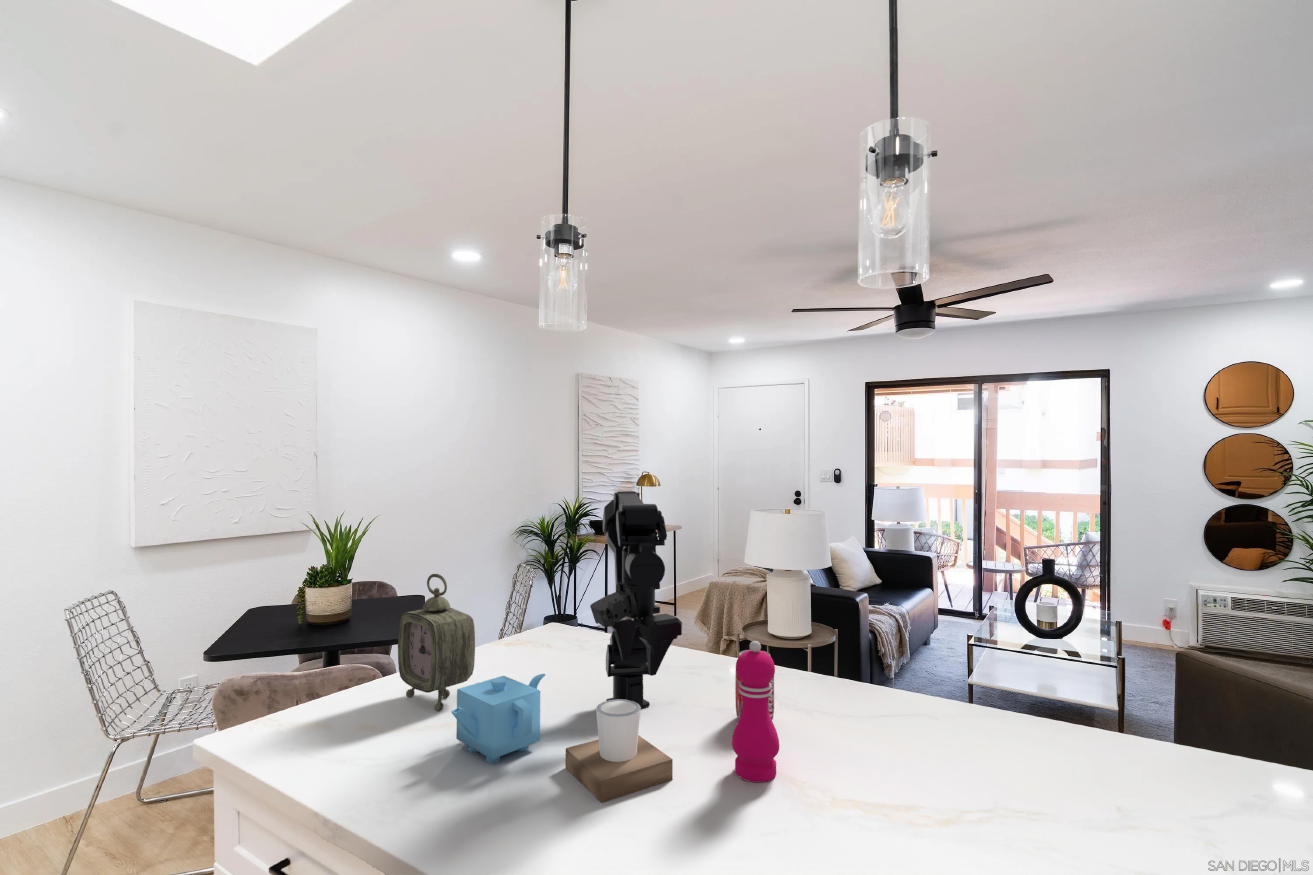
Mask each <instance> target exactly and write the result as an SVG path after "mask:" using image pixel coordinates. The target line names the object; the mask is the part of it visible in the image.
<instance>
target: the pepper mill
mask: <svg viewBox="0 0 1313 875" xmlns="http://www.w3.org/2000/svg"><path fill="white" fill-rule="evenodd" d="M748 646H749V649H748V650H749V651H746V652H744V653H742V654H741V655H740V656H739V655H738V657H737V660H736V662H735V674H736V673H737V676H738V677H739V678H740V680H741V681H740V682H739V686H740V688H739V692H740V693H741V694H742V711H741V716H740V718H738V721H737V722H736V726H735V727H734V728H733V731H732V732H733V733H732V737H731V748H732V750H733V752H734V753H735V754H736V757H735V758H734V759H735V760H734V772H735V774H736V775H737V776H738V777H739V778H741V779H742V780H745V781H748V782H753V783H765V782H770V781H772V780H773V779H774V778H775V777H776V776H777V762H776V759H775V757H777V755H778V753H779V751H780V738H779V734H778V732H777V729H776V727H775V724H774V722H773V719H771V717H770V713H769V706H768V700H769V696H770V695H771V694H772V691H771V688H772V685H771V683H770V681H771V680H772V678H773V677H774V678H775V673H776V666H775V662H774V660H773V658H772V657H771V655H770V656H769V655H768V654H767V653H768V652H767V653H765V652H766V651H765V652H763V651H764V650H762V645H761V643H760V642H759V641H758V640H753V641H751V642H750V643H749V645H748Z"/></svg>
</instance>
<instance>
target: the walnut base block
mask: <svg viewBox="0 0 1313 875" xmlns="http://www.w3.org/2000/svg"><path fill="white" fill-rule="evenodd" d="M673 760H674V759H673V758H672V757H670V756H669V755H667V754H666V753H665V752H663V751H661V750H660V749H658V748H657V747H656V746H655V745H654V744H651V743H650V742H649V741H648V740H646V738H643V737H642V736H640V735H639V734H638V743H637V753H636V756H635V757H633V758H632V759H630V760H627V761H622V762H612V761H608V760H605V759H603V758H602V757H601V755H600V750H599V738H597V739H595V740H591V741H588V742H583V743H580V744H576V745H573V746H569V747H565V769H566V770H567V771H568V772H569V773H571V775H572V776H574V777H575V778H576V780H578V781H579V782H580V783H581V784H582V786H584V788H586V789H587V790H588V791H589V792H590V793H591V794H592V795H593V797H595V798H596V799H597V800H598V801H599V802H600V803H604V802H607V801H611V800H613V799H617V798H619V797H623V796H626V795H629V794H633V793H635V792H638V791H642V790H644V789H648V788H651V787H654V786H657V785H661V784H663V783H666V782H669V781H672V780H673V770H674V769H673Z"/></svg>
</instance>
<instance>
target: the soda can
mask: <svg viewBox="0 0 1313 875" xmlns="http://www.w3.org/2000/svg"><path fill="white" fill-rule="evenodd" d="M749 650H750V649H745V650H742V651H740V652H739V653H738V657H739V656H740V655H741V654H742V653H744V652H746V651H749ZM762 651H763V652H765V653H767V654H768V655H769V656H770V657H771V654H770V653H769V652H767V651H764V650H762ZM734 680H735V682H734V683H735V684H734V685H735V693H734V694H735V695H734V696H735V713H736V714H735V715H736V718H737V719H739V718H740V716H741V711H742V694H741V693H740V692H739V688H740V686H739V682H740V681H741V680H740V678H739V677H738V676H737V673H736V672H735V679H734ZM770 683H771V685H772V688H771V691H772V694H771V695H770V696H769V700H768V706H769V713H770V717H771V719H772V720H774V713H775V676H774V677H773V678H772V680H771V681H770Z"/></svg>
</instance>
